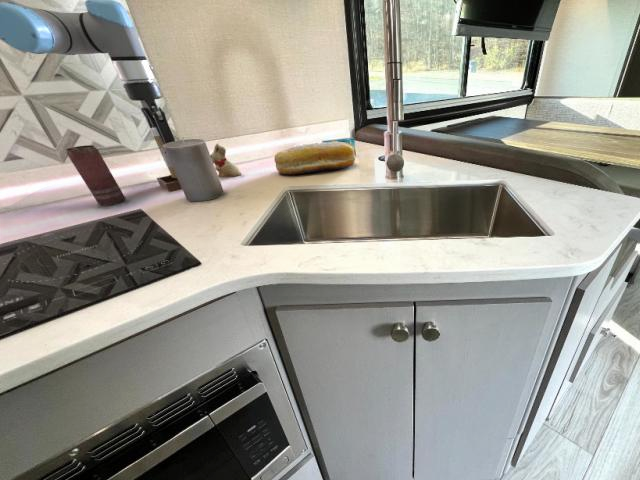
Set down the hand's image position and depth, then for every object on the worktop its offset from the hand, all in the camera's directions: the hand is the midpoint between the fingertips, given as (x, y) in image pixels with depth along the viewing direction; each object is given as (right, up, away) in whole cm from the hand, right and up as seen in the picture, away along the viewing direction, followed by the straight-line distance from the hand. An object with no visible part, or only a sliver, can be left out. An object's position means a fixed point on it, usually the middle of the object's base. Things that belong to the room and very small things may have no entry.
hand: (179, 173), depth 96 cm
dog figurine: (+11, +3, +9) cm, 14 cm away
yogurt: (+45, +16, +24) cm, 53 cm away
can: (-12, -12, -9) cm, 19 cm away
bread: (+40, +6, +11) cm, 42 cm away
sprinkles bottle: (0, -1, 0) cm, 1 cm away
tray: (0, -2, +2) cm, 3 cm away
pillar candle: (+13, -9, -7) cm, 17 cm away
